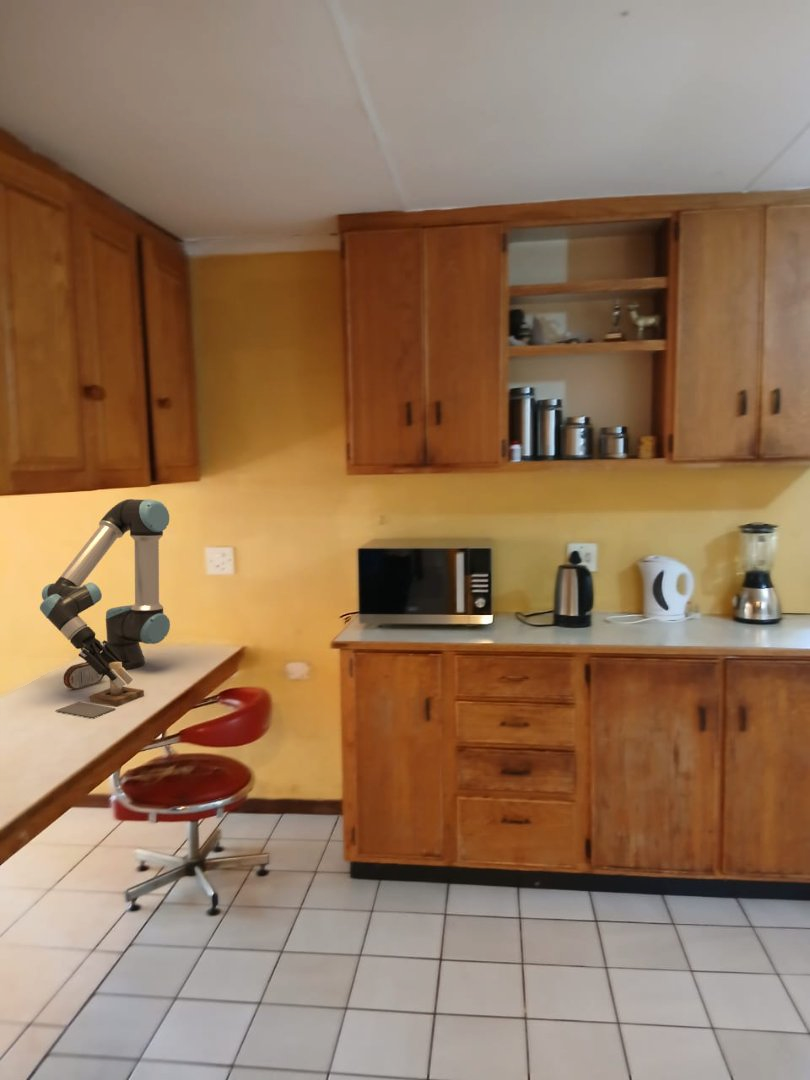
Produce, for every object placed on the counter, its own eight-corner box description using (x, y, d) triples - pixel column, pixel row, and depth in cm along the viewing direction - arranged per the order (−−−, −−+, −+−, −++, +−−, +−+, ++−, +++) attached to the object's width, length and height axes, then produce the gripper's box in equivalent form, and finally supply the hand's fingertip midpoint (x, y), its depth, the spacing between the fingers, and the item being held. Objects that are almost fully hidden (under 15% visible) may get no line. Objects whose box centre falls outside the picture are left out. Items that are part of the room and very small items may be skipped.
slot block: (117, 691, 252) (117, 685, 252) (143, 695, 247) (143, 690, 247) (89, 701, 241) (89, 695, 241) (116, 706, 236) (116, 700, 236)
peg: (117, 695, 247) (115, 661, 245) (126, 697, 245) (124, 662, 244) (107, 699, 243) (106, 664, 242) (116, 700, 241) (115, 665, 240)
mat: (78, 703, 240) (78, 701, 239) (115, 709, 233) (115, 708, 233) (55, 711, 231) (55, 710, 231) (92, 718, 225) (92, 717, 225)
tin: (101, 680, 265) (100, 657, 264) (106, 681, 264) (105, 658, 263) (63, 691, 252) (62, 667, 251) (69, 692, 251) (67, 668, 250)
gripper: (86, 634, 253) (133, 683, 252) (55, 647, 236) (105, 699, 235) (100, 620, 251) (147, 669, 250) (70, 631, 235) (120, 684, 234)
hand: (126, 683), depth 243 cm, fingers closed on peg, 4 cm apart
